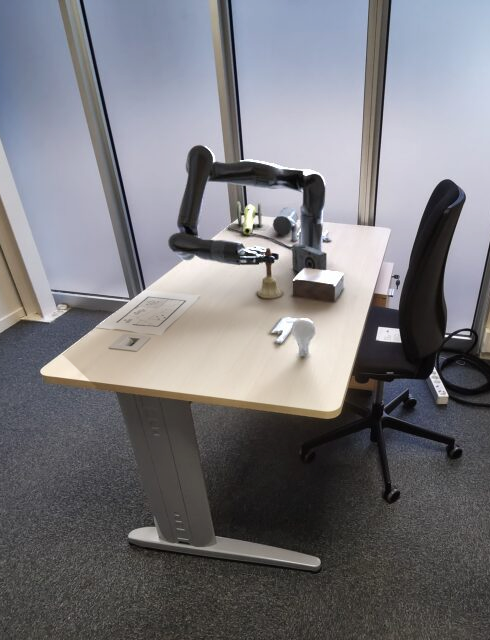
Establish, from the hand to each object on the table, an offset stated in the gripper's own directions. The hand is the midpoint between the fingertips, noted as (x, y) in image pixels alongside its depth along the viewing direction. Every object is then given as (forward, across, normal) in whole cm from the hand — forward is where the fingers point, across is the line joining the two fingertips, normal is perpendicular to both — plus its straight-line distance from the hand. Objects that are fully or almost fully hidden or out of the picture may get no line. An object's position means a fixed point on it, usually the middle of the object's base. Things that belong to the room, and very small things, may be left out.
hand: (275, 258), depth 147 cm
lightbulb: (+21, +37, -13) cm, 44 cm away
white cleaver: (+10, +25, -13) cm, 30 cm away
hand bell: (-3, 0, -13) cm, 14 cm away
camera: (+4, -24, -13) cm, 28 cm away
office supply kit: (-15, -81, -13) cm, 83 cm away
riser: (+13, -7, -13) cm, 20 cm away
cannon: (-42, -74, -13) cm, 86 cm away
